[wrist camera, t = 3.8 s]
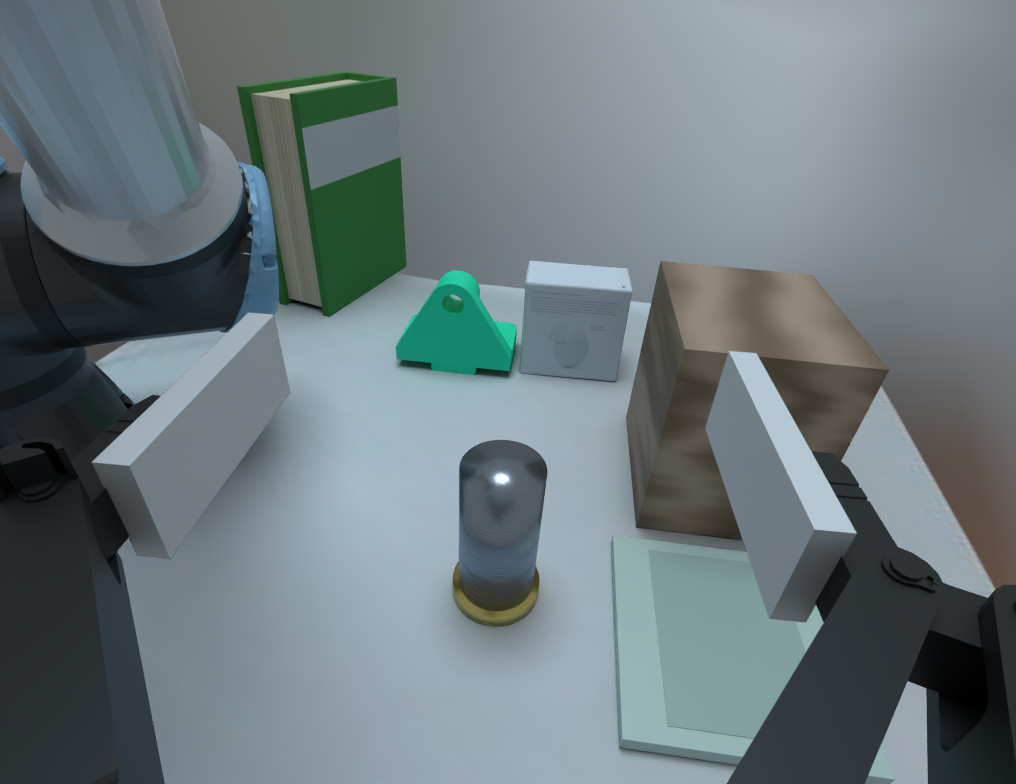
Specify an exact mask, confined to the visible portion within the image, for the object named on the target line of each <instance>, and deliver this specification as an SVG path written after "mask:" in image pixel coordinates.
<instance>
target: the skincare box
mask: <svg viewBox="0 0 1016 784" xmlns="http://www.w3.org/2000/svg"><path fill="white" fill-rule="evenodd" d="M631 297H632V286H631V281H630V277H629V272H628V270H627V269H625V268H611V267H599V266H587V265H574V264H563V263H549V262H539V261H530V262H529V265H528V270H527V276H526V282H525V301H524V316H523V331H522V345H521V361H520V368H519V371H520V373H526V374H538V375H549V376H561V377H571V378H583V379H595V380H605V381H616V379H617V373H618V367H619V362H620V356H621V350H622V345H623V339H624V334H625V329H626V324H627V318H628V312H629V306H630V301H631Z"/></svg>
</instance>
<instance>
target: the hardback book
mask: <svg viewBox="0 0 1016 784" xmlns="http://www.w3.org/2000/svg"><path fill="white" fill-rule="evenodd" d="M237 89H238V94H239V99H240V104H241V109H242V114H243V119H244V124H245V129H246V134H247V139H248V144H249V149H250V154H251V159H252V165H253V166H256V167H257V168H259V169H260V170H261V171H262V172H263V173H264V175H265V178H266V181H267V185H268V190H269V195H270V200H271V206H272V213H273V220H274V228H275V237H276V254H277V255H276V260H277V264H278V275H279V300H280V304H284V305H287V304H289V303H291V302H292V301H294V300H298V301H301V302H305V303H309V304H312V305H316V306H320V307H322V311H323V315H324V316H328V317H330V316H332V315H333V314H335V313H336V312H338V311H339V310H341V309H342V308H344V307H345V306H347V305H348V304H350V303H351V302H353V301H354V300H356V299H358V298H359V297H361V296H362V295H364V294H365V293H367V292H368V291H370V290H371V289H373V288H374V287H376V286H377V285H379V284H380V283H382V282H383V281H385V280H386V279H388V278H389V277H391V276H392V275H394V274H395V273H397V272H398V271H400V270H402V269H403V268H404V267H406V251H405V233H404V214H403V196H402V177H401V159H400V140H399V122H398V103H397V86H396V78H393V77H385V76H376V75H368V74H360V73H352V72H338V73H331V74H323V75H316V76H309V77H301V78H294V79H287V80H280V81H273V82H265V83H258V84H250V85H243V86H237Z"/></svg>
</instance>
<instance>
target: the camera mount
mask: <svg viewBox="0 0 1016 784" xmlns="http://www.w3.org/2000/svg"><path fill="white" fill-rule="evenodd" d="M450 295H456V296H458V297H459V298H461V300H456V299H454V298H452V297H451V296H450ZM479 296H480V289H479V285H478V283H477V282H476V280H475V279H474V278H473V277H472V276H471V275H470V274H468V273H466V272H463V271H451V272H448V273H446V274H444V275H443V276H442V278H441V279H440V281H439V283H438V284H437V286H436V288H435V289H434V291H433V292H432V294H431V295H430V297H429V298H428V299H427V301H426V302H425V304H424V305H423V307H422V308H421V310H420V311H419V313H418V314H417V315H415V316H413V317H412V318H411V320H410V322H409V324H408V326H407V327H406V329H405V331H404V333H403V335H402V337H401V338H400V340H399V342H398V344H397V346H396V354H397V359H399V360H408V361H418V362H427V363H431V370H434V371H444V372H453V373H462V374H472V375H475V374H476V370H477V368H484V369H493V370H503V371H510V367H511V362H512V357H513V352H514V348H515V343H516V333H517V327H516V325H514V324H512V323H505V322H495V321H493V319H492V318H491V316H490V314H489V313H488V311H487V309H486V308H485V306H484V305H483V303H482V301H481V300H480V298H479Z"/></svg>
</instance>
